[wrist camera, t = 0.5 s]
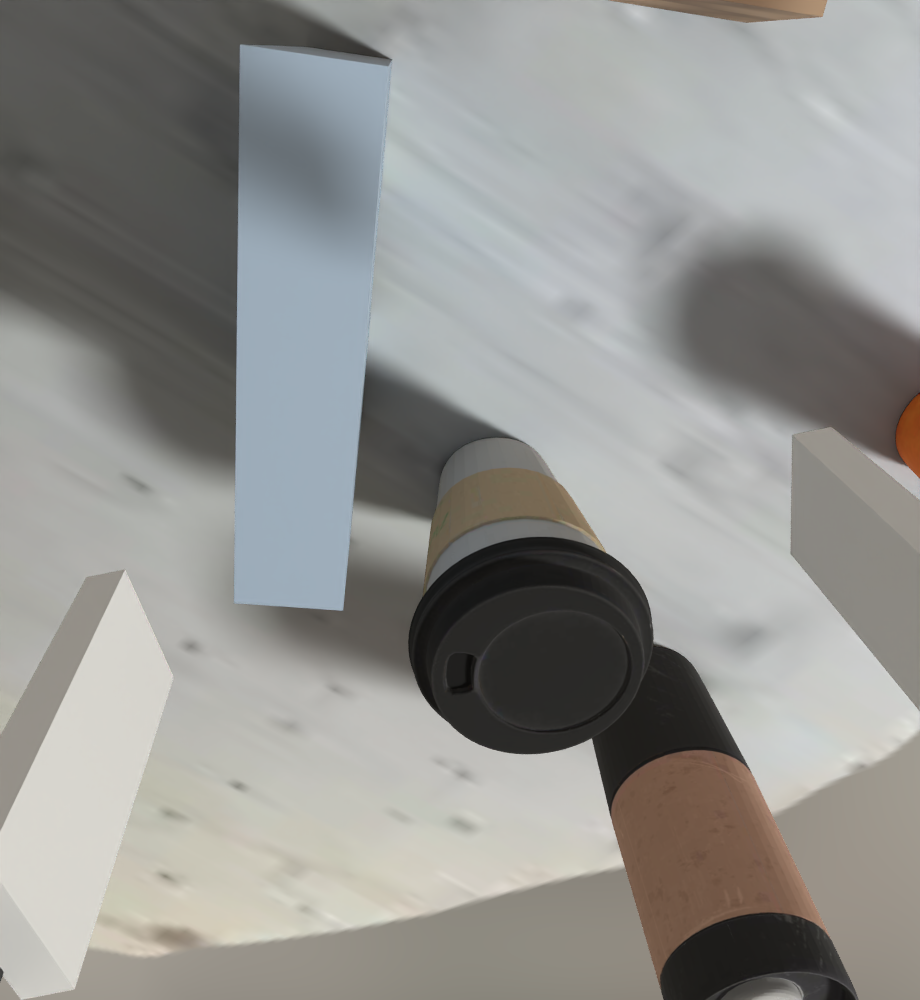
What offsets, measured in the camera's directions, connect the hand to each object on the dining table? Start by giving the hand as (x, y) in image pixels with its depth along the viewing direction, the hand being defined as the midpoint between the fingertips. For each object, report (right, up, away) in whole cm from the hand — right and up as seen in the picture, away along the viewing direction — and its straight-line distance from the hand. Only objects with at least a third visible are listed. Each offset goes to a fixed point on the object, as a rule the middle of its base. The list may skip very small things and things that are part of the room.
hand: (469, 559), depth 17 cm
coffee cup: (+2, +2, +28) cm, 28 cm away
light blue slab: (-6, +12, +21) cm, 25 cm away
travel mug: (+11, -10, +35) cm, 38 cm away
